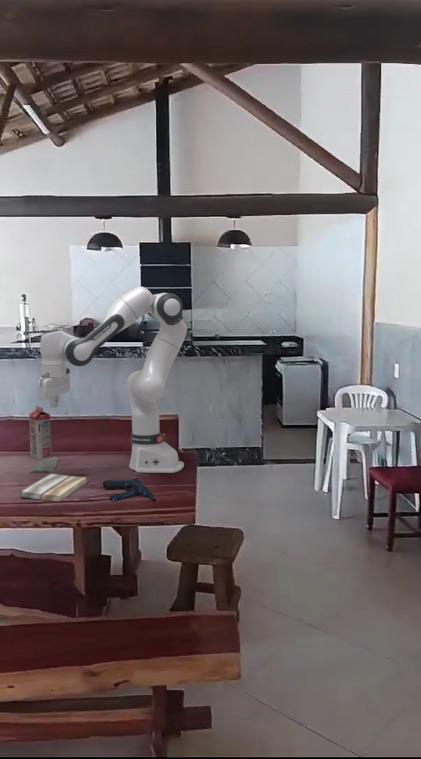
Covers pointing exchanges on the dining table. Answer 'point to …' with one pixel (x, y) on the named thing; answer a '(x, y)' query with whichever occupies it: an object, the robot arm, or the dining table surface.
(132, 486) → the gun
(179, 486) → the dining table surface
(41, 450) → the carton
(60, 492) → the thin beige board
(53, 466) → the stone slab
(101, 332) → the robot arm
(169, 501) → the dining table surface
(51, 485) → the board
